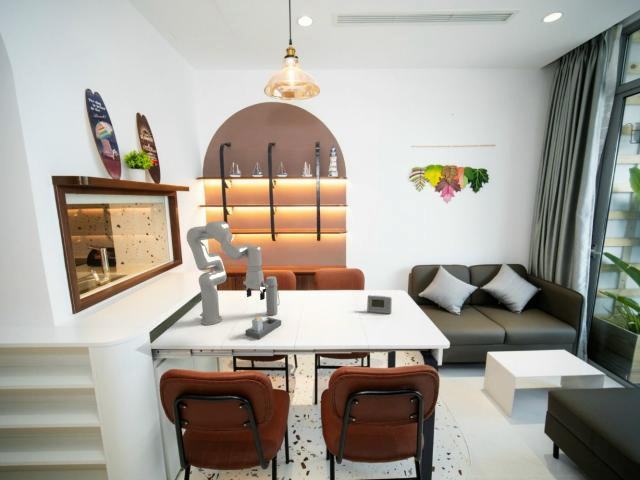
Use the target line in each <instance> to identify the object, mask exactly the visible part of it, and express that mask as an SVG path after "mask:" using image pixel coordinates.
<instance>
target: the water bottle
mask: <svg viewBox="0 0 640 480" xmlns="http://www.w3.org/2000/svg"><path fill="white" fill-rule="evenodd" d="M265 283H266V284H267V285H268V288H267V290H266V292H265V303H266V306H265V307H266V314H267V316H271V317H272V316H275V315H277V314H278V306H280V296H279V294H280V293H278V292H279V288H278V286H279V283H278V282H277V277H276V276H272V275H271V276H267V277H266V278H265Z"/></svg>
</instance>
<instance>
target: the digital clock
mask: <svg viewBox="0 0 640 480" xmlns="http://www.w3.org/2000/svg"><path fill="white" fill-rule="evenodd" d="M392 300H393V299H392V296H386V295H370V294H369V295H367V304H366V306H367V307H366V311H367V312H368V313H373V314H374V313H375V314H376V313H377V314H392V311H393V310H392V309H393V308H392V306H393V305H392V302H393V301H392Z"/></svg>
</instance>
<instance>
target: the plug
mask: <svg viewBox="0 0 640 480" xmlns="http://www.w3.org/2000/svg"><path fill="white" fill-rule="evenodd" d="M262 320H263V318H262V317H260V316H256V317H254V318H252V320H251V325H252V326H251V327H252V329H253V331H256V332H259V331H261V330H262V329H263V322H262Z"/></svg>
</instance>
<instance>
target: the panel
mask: <svg viewBox="0 0 640 480" xmlns="http://www.w3.org/2000/svg"><path fill="white" fill-rule="evenodd" d="M262 322H263V329H262V330H261V331H259V332H256V331H253V329H252V326H250V327H249V328H246V330H244V331H245V336H246V337H250V338H253V339H257V340H261V339H262V338H264V337H265V336H267V335H269V334H270V333H272V332H273V331H275V330H276V329H277V328H279V327H280V326H282V319H278V318H273V317H270V316H269V317H266V318H264V319H262Z"/></svg>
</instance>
